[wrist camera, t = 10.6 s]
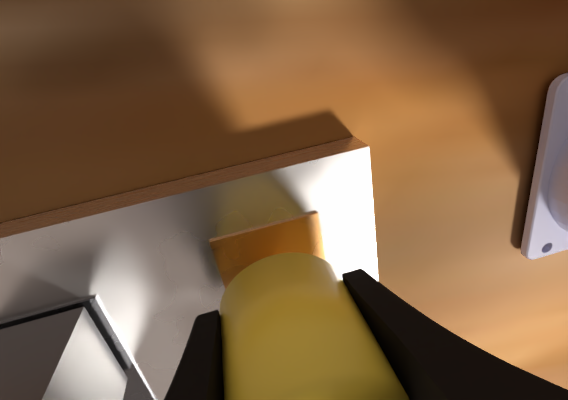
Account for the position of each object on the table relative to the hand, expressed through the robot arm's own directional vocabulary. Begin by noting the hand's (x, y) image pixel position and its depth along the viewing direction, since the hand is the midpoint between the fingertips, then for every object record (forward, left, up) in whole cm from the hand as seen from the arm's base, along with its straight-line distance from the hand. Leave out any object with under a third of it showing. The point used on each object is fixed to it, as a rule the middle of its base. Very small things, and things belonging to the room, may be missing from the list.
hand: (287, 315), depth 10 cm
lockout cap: (0, 0, 0) cm, 0 cm away
